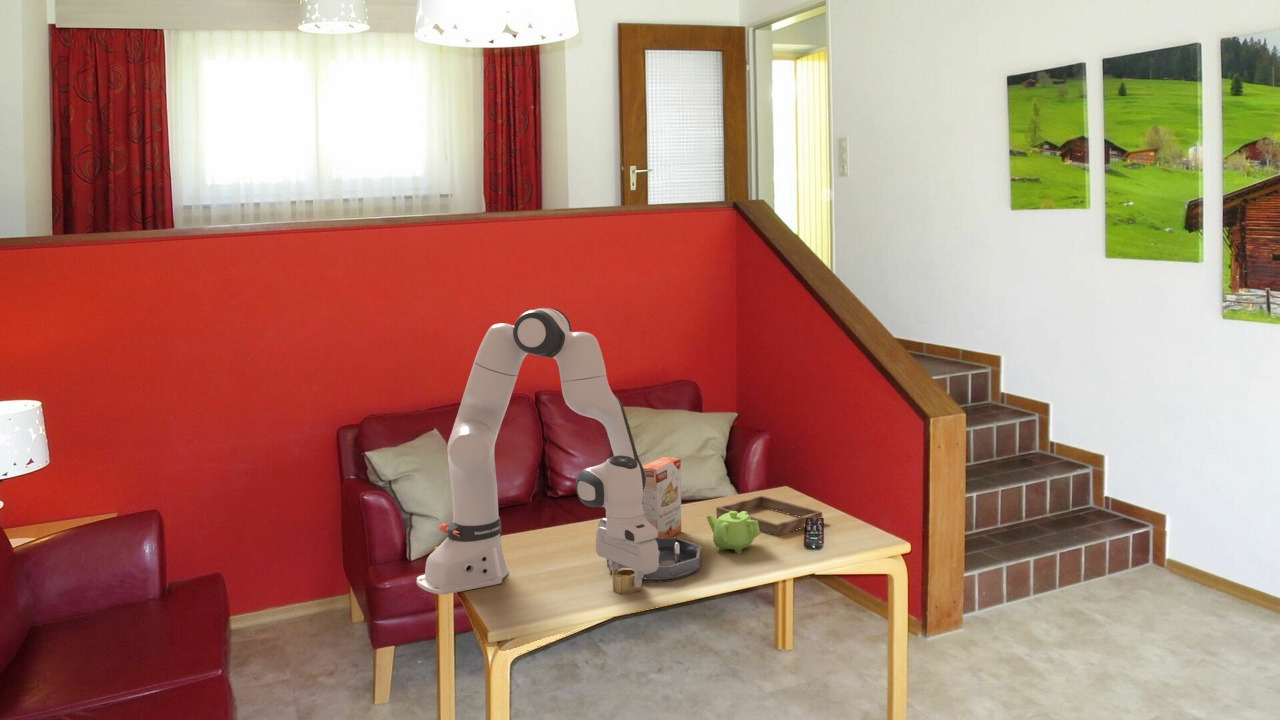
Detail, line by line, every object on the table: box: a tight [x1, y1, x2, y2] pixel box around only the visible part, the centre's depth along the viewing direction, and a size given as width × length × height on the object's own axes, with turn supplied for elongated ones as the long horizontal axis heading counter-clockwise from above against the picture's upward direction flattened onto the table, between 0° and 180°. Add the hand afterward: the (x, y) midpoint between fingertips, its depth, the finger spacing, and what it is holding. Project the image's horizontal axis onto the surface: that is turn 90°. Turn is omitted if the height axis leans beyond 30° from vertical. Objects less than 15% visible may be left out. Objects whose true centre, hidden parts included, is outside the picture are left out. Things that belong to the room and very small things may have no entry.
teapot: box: [706, 511, 761, 554], centre depth 285 cm, size 12×12×10 cm
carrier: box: [606, 537, 703, 583], centre depth 273 cm, size 23×23×7 cm
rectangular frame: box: [715, 495, 823, 537], centre depth 309 cm, size 18×24×3 cm
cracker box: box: [641, 456, 682, 538], centre depth 295 cm, size 14×6×21 cm, turn 150°
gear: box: [611, 568, 641, 595], centre depth 258 cm, size 7×7×4 cm
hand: (627, 582), depth 258 cm, fingers closed on gear, 6 cm apart
